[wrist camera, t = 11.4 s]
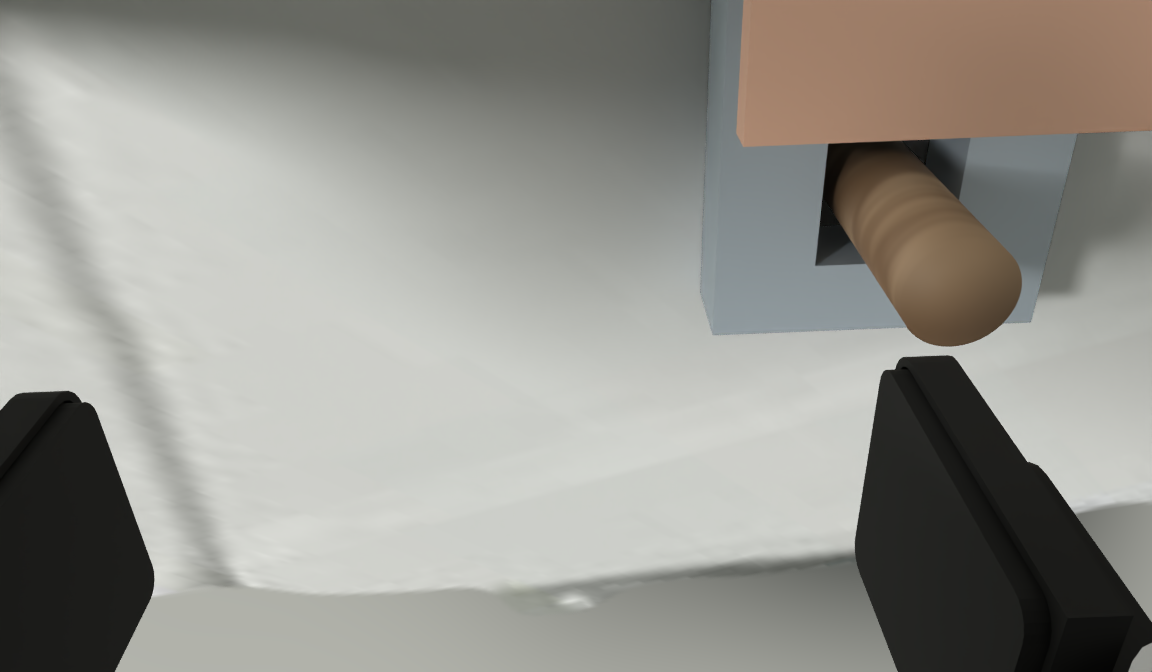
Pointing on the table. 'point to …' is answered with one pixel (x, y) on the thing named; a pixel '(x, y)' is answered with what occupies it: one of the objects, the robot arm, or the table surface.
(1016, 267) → the peg
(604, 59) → the table surface
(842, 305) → the socket deck
